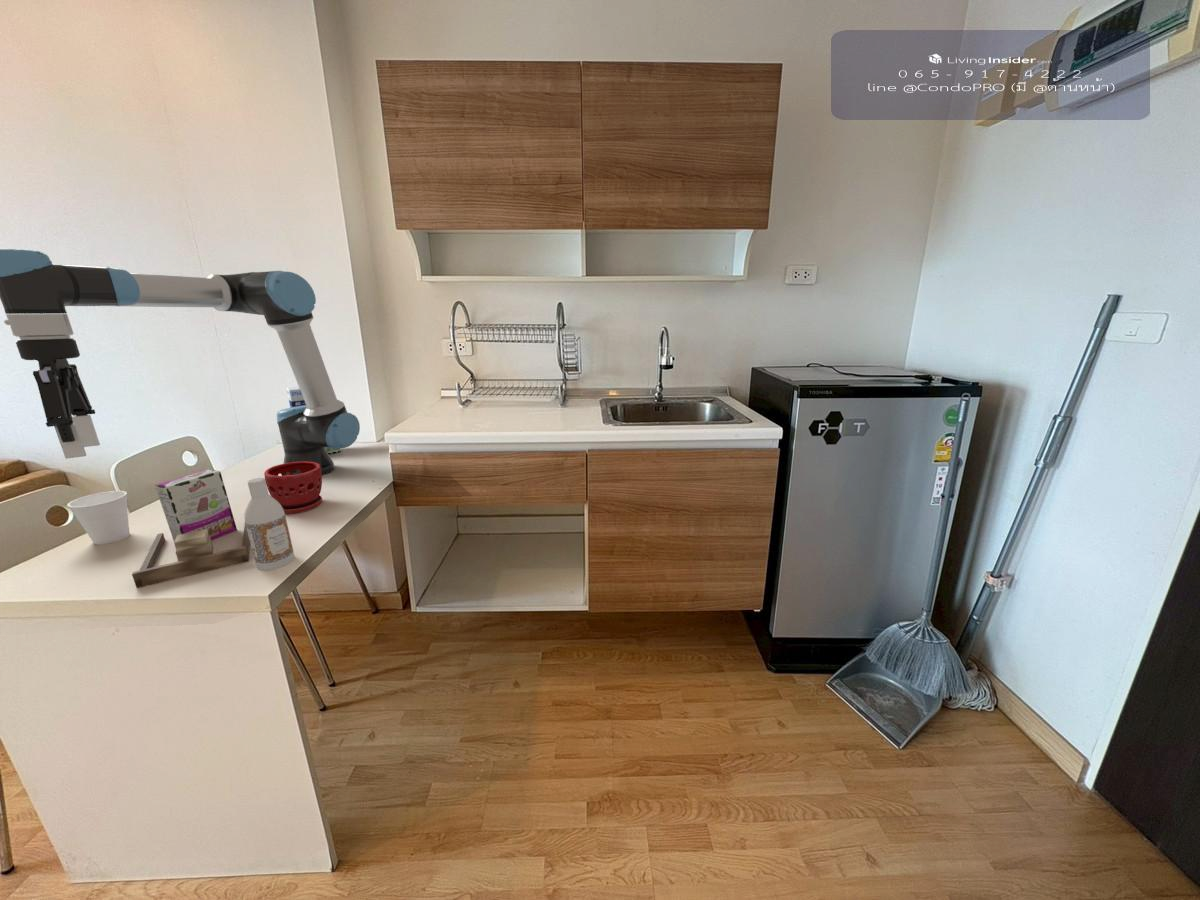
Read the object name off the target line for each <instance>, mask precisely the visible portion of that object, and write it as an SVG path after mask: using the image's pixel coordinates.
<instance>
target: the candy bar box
mask: <svg viewBox="0 0 1200 900" xmlns="http://www.w3.org/2000/svg"><path fill="white" fill-rule="evenodd" d="M224 483H225V482H224V480H223V476H222V472H221V471H220V470H216V469H211V468H210V469H205V470H200V471H198V472H194V473H192V474H188V475H184V476H180V477H178V478H175V479H171V480H168V481H165V482H164V481H163V482H161V483H158V484H155V485H154V487H155V490H156V493H157V496H158V498H159V501H160V504H161V507H162V510H163V511H162V512H163V513H164V517H165V519H166V522H167V525H168V528H169V531H170V533H171V538H172V540H173V542H174V541H175V539H176V537H177V535H180V534H185V533H190V532H195V531H200V530H205V529H207V530H208V534H209V536H210V538H211V541H214V540H217V539H218V538H221V537H223V536H227V535H228V534H231V533H233V532H235V531H238V529H237V524H236V521H235V518H234V515H233V512H232V511H233V510H232V508H231V504H230V501H229V497H228V494H227V490H226V487H225V484H224Z"/></svg>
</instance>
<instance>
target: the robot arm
mask: <svg viewBox="0 0 1200 900" xmlns="http://www.w3.org/2000/svg"><path fill="white" fill-rule="evenodd" d="M314 291H315V290H314V288H313V287H312V286H311V284H310V283H309V282H308V281H307V280H306V279H305V278H304V277H302V276H301V275H299V274H298V273H296V272H293V271H283V270H271V271H269V270H268V271H256V272H255V271H251V272H243V273H236V274H235V273H234V274H213V273H212V274H210V275H208V277H199V276H197V277H196V276H182V275H181V276H180V275H165V274H163V275H162V274H148V273H147V274H146V273H131V272H129V271H128V270H126V269H123V268H116V267H115V268H114V267H110V266H105V267H104V266H88V265H87V266H86V265H67V264H65V265H64V264H57V263H53V262H52V261H51V259H50V257H49V255H48V254H47V253H46V252H43V251H39V250H31V249H30V250H29V249H17V248H0V301H1V304H2V307H3V309H4V313H5V316H6V319H5V320H4V321H3V323H4V324H5V325H7V326H10V329H11V332H12V335H13V336H14V337H16V338H17V337H18V338H19V339H17V340H16V341H15V345H16V347H17V350H18V354H19V356H20V358H21V359H23V360H24V361H37V362H38V368H39V369H38V370H33V371H32V375H33V377H34V379H35V382H36V384H37V388H38V392H39V395H40V396H39V397H40V399H41V404H42V407H43V412H44V416H45V419H46V422H45V425H46V427H48V428H50V427H54V429H55V433H56V435H57V438H58V441H59V445H60V447H61V449H62V452H63V454H64V455H63V456H64V458H65V459H74V458H82V457H86V456H87V452H86V449H85V448H88V447H95V446H96V447H98V446H100V445H101V444H100V440H99V437H98V435H97V431H96V428H95V426H94V423H93V419H92V416H91V415H95V414H96V410H95V409H93V406H92V404H91V402H90V400H89V398H88V395H87V393H86V391H85V387H84V384H83V383H82V380H81V378H80V377H81V376H79V371H78V367H77V365H76V364H75V363H71V364H69V361H68V359H76V358H79V357H80V356H81V353H80V351H79V347H78V344H77V342H76V341H77V340H76V339H74V338H73V337H72V338H71V336H73V335H74V334H75V333H74V331H73V327H72V325H71V322H70V318H69V316H68V313H67V310H66V307H150V308H153V307H154V308H155V307H156V308H158V307H159V308H161V307H162V308H213V309H215V310H216V311H218V312H233V313H242V314H243V313H244V314H249V315H258V316H264V319H265V322H266V324H267V326H268V327H270V328H272V329H275V331H276V333H277V335H278V337H279V340H280V343H281V344H282V345H281V346H282V347H283V350H284V353H285V354H286V357H287V360H288V363H289V365H290V368H291V370H292V372H293V376H294V377H295V380H296V384H297V387H299V388H300V391H301V393H302V396H303V398H304V401H305V403H306V405H303V406H297V407H292V408H290V407H287V408H284V409H280V410H279V411H277V413H276V421H277V425H278V429H279V434H280V435H279V436H280V439H281V444H282V447H283V451H284V459H283V463H282V464H285V463H290V462H304V461H306V462H315V463H318V464H319V465H320V467H321V472H322V477H323V476H326V475H328V474H331V473H332V472H334V471H335V464H334V461H333V459H331V456H330V455H329V454H328V453H327V451H326V449H325V447H330V448H333V449H336V448H340V449H346V448H348V447H350V446H351V445H353V444H354V443H355V442H356V441H357V439H358V435H360V429H361V428H360V427H361V425H360V420H359V419H358V417H357V416H356V415H355V414H353V413H351V412H348V411H347V407H346V406H345V403H344V401H341V400H339V399H337V396H336V393H335V390H334V388H333V385H332V381H331V379H330V376H329V373H328V371H327V368H326V365H325V363H324V360H323V357H322V355H321V352H320V349H319V346H318V343H317V340H316V338H315V334H314V332H313V330H312V327H311V323H312V321H313V320H314V315H313V313H312V312H313V311H314V309H315V307H316V303H317V300H316V299H317V298H316V293H315V292H314ZM289 474H290V472H287V473H286V475H289ZM296 474H301V472H300V471H299V470H294V471H293V475H296Z"/></svg>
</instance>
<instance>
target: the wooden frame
mask: <svg viewBox="0 0 1200 900" xmlns="http://www.w3.org/2000/svg"><path fill="white" fill-rule="evenodd" d="M243 528H244V529H243V533H242V534H243V537H242V544H241V546H240V547H236V548H232V549H228V550H227V549H226V550H222V551H218V552H217V553H213V554H209V555H205V556H200V557H196V558H192V559H187V560H183V561H178V562H177V561H175V562H171V563H167V564H162V565H157V566H153V565H155V563H156V561H157V559H158V557H159V555H160V552H161V550H162V548H163V547H164V543H165V542H166V538H165V534H164V532H161V533H157V534H156V536H155V538H154V540H153V542H152V544H151V546H150V548H149V549H150V550H149V549H148V552H147V554H146V556H145V558H144V559H143V560H144V561H143V562H142V564H141V566H140V568H139V570H136V571H132V573H131V576H132V578H133V581H134V585H135V587H136V589H139V587H140V588H144V587H148V586H152V585H156V584H159V583H165V582H169V581H172V580H177V579H182V578H185V577H188V576H193V575H197V574H201V573H205V572H210V571H214V570H218V569H223V568H226V567H231V566H235V565H238V564H243V563H247V562H249V561H250V551H251V550H250V549H251V544H250V540H249V536H248V532H247V528H246V524H245V523H244V526H243ZM147 585H148V586H147Z"/></svg>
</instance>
